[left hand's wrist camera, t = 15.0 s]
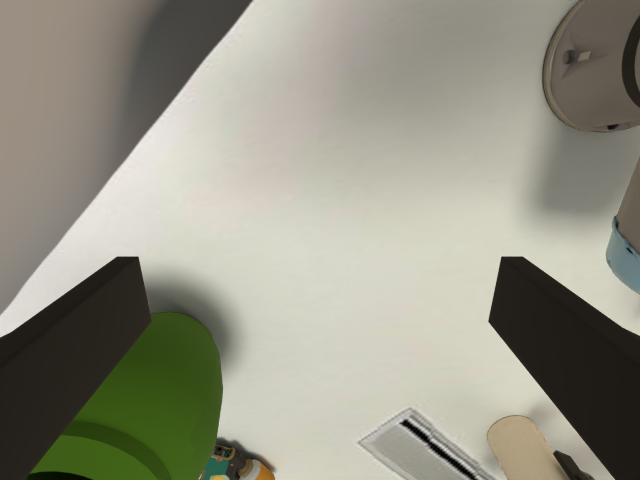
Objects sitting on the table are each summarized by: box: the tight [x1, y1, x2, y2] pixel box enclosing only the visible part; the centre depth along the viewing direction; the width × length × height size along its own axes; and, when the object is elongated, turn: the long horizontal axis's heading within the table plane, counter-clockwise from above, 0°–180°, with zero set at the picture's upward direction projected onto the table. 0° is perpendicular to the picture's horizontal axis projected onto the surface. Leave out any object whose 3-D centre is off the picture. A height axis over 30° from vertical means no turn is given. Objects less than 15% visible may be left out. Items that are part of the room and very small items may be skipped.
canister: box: [487, 416, 570, 480], centre depth 52 cm, size 8×8×13 cm
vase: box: [25, 312, 223, 480], centre depth 40 cm, size 20×20×24 cm
